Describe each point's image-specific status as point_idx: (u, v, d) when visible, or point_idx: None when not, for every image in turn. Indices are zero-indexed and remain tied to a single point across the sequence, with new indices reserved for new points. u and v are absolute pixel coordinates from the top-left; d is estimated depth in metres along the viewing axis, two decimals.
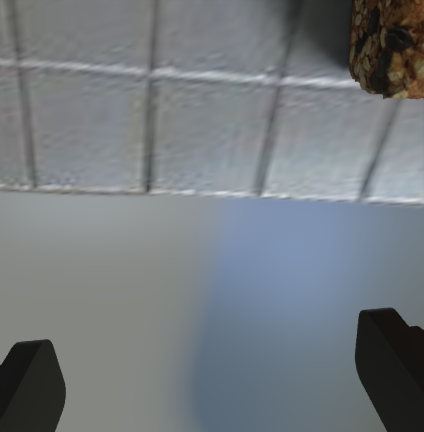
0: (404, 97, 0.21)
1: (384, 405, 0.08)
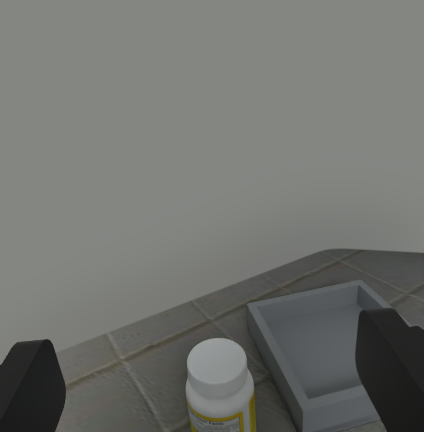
0: None
1: (384, 405, 0.08)
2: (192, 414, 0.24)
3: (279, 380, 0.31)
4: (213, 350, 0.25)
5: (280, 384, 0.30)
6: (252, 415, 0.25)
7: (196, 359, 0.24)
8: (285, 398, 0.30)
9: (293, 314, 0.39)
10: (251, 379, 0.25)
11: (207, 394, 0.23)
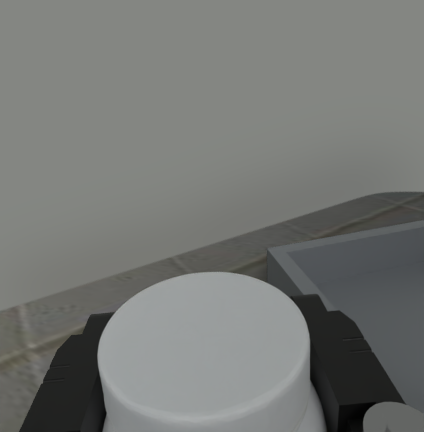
0: None
1: None
2: None
3: None
4: (193, 302, 0.08)
5: None
6: None
7: (134, 328, 0.07)
8: None
9: (350, 270, 0.21)
10: (316, 398, 0.08)
11: None
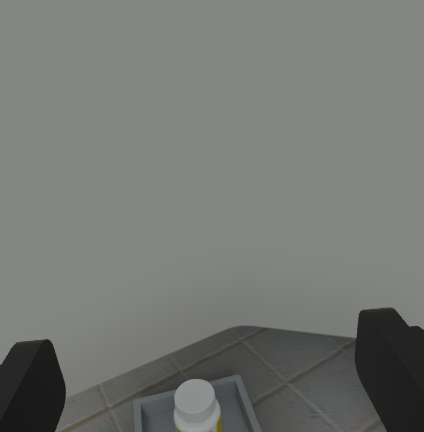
0: None
1: (384, 405, 0.08)
2: None
3: None
4: (192, 388, 0.37)
5: None
6: None
7: (180, 395, 0.36)
8: None
9: None
10: (218, 408, 0.37)
11: (187, 420, 0.35)
